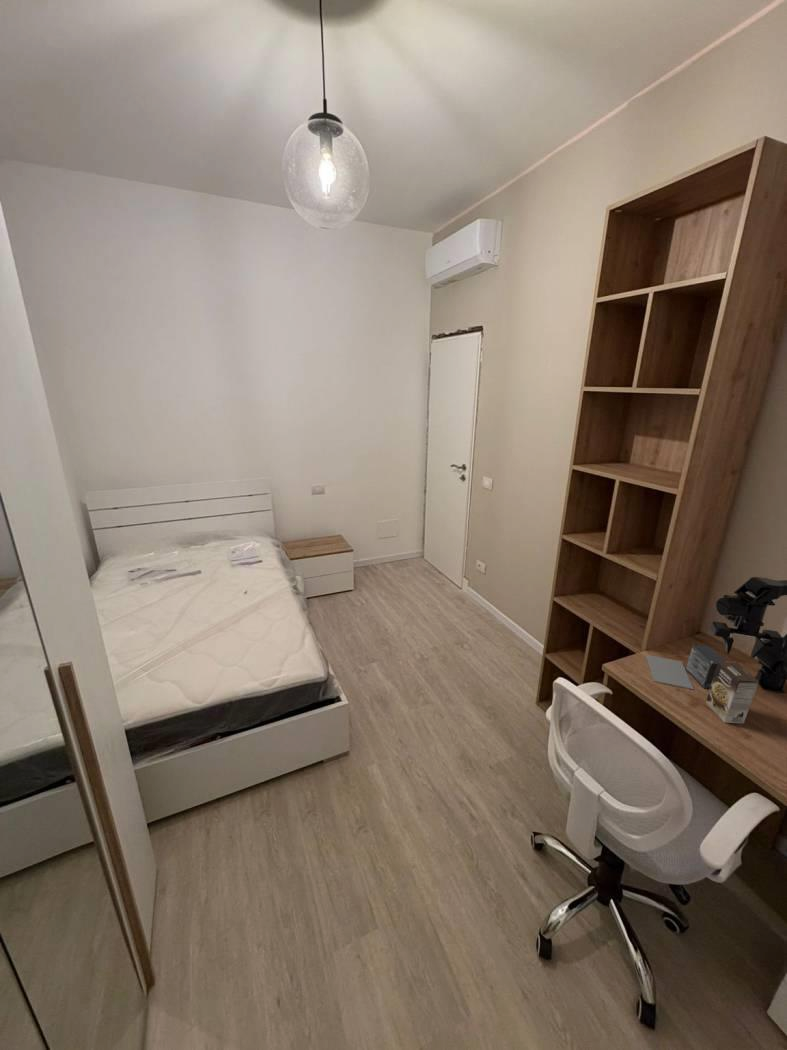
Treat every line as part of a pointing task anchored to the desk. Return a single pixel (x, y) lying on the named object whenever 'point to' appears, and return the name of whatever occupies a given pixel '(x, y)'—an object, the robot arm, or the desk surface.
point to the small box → (703, 664)
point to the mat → (669, 672)
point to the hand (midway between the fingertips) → (739, 655)
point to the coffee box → (731, 692)
